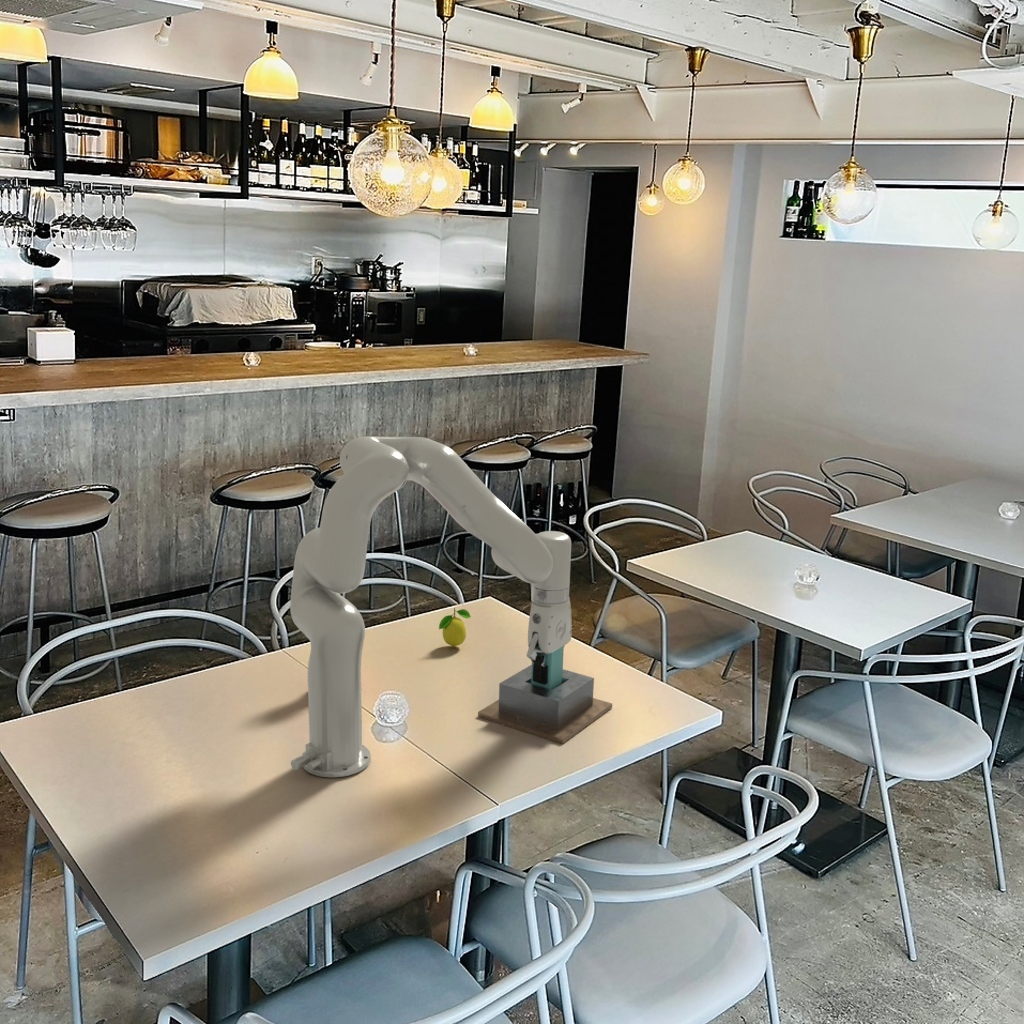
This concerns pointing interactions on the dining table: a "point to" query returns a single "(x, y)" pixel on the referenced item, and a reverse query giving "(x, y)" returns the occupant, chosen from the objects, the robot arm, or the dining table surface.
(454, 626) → the lemon
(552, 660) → the teal post
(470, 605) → the dining table surface
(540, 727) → the well
